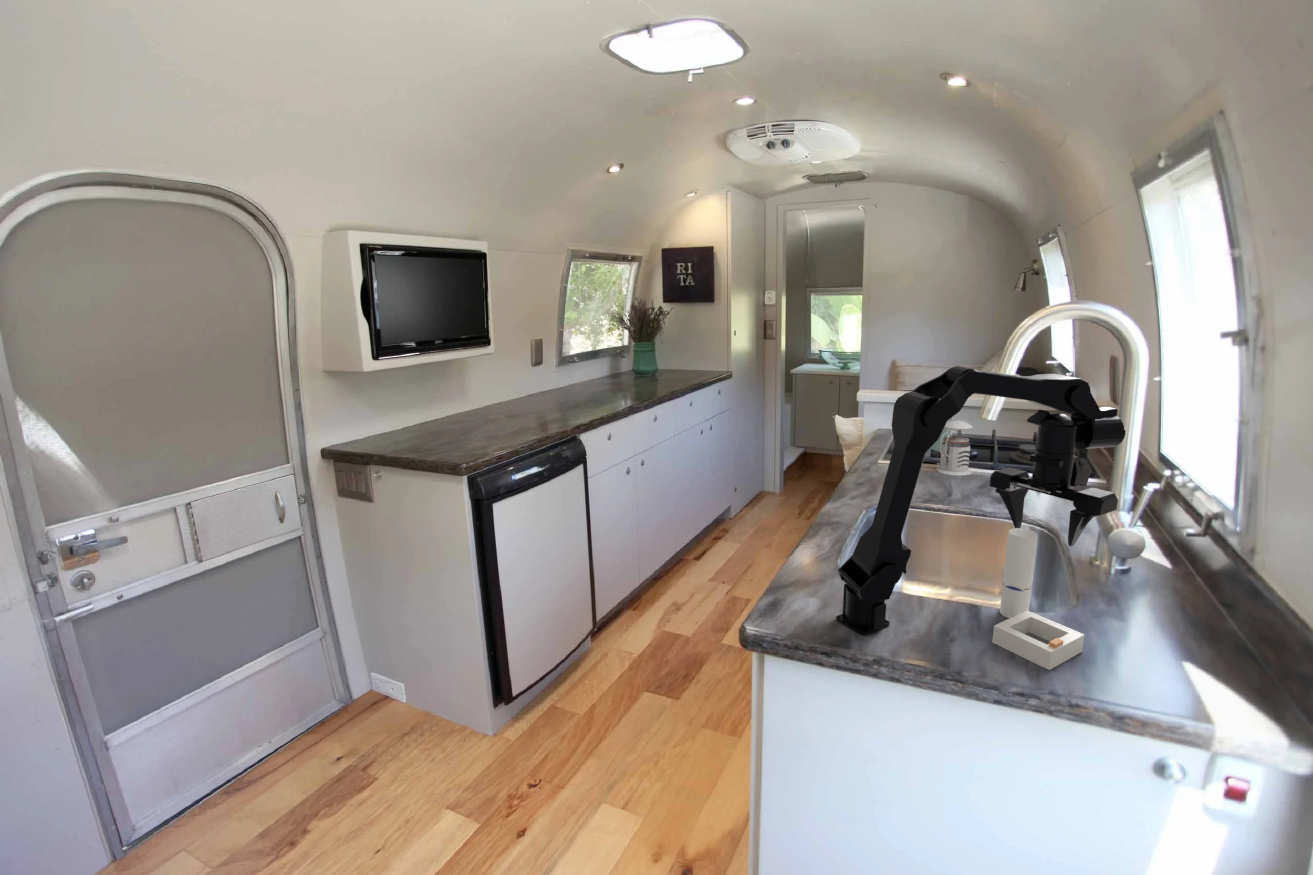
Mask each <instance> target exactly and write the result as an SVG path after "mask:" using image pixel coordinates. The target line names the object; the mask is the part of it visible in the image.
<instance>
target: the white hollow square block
mask: <svg viewBox="0 0 1313 875" xmlns="http://www.w3.org/2000/svg"><path fill="white" fill-rule="evenodd" d="M1084 641H1085V634H1084V633H1082V632H1079V631H1077V630H1075V629H1072V628H1070V627H1067V626H1065V625H1063V624H1060V623H1058V622H1056V621H1053V620H1052V619H1048V618H1046V617H1044V616H1041V615H1039V614H1037V613H1034V612H1032V611H1030V610H1029V611H1028V610H1027V611H1025V612H1022V613H1020V614H1018V615H1016V616H1014V617H1012V618H1007V619H1005V620H1002V621H1001V622H999V623H997V624H994V625H993V632H992V642H991V643H992V644H995V645H996V646H999V647H1000V648H1002V649H1004V650H1006V651H1009V652H1011V653H1013V654H1015V655H1017V656H1019V657H1021V658H1023V659H1024V660H1028V661H1029V662H1032V663H1033V664H1036V665H1038V666H1040V667H1042V668H1044V669H1046V670H1047V671H1051V670H1052V669H1054V668H1056V667H1057V666H1060V665H1062V664H1063V663H1065V662H1066V661H1068V660H1070V659H1072V658H1074V657H1075V656H1077V655H1080V653H1083V649H1084V648H1083V647H1084Z"/></svg>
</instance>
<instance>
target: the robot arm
mask: <svg viewBox="0 0 1313 875" xmlns="http://www.w3.org/2000/svg"><path fill="white" fill-rule="evenodd" d="M974 394H977V395H985V396H992V397H999V398H1008V399H1016V400H1022V401H1027V402H1028V403H1032V404H1035V405H1038V406H1041V407H1044V408H1048V409H1052V410H1054V411H1057V412H1060V413H1050V411H1048V410H1044V409H1037V411H1036V412H1035V413H1034V414H1032V415H1031V416H1029V417H1028V418H1026V422H1027V424H1032V425H1036V426H1038V428H1037V434H1036V443H1035V449H1034V450H1035V451H1034V454H1030V457H1029V462H1033V467H1032V473H1031V474H1032V475H1031V477H1030V474H1029V472H1028V471H1026V470H1022V469H1017V468H1015V467H1014V468H1013V467H1010V466H1009V467H1005V468H1001V469H998V470H994V471H993V472H992V473H991V474H990V475H989V480H988V481H989V482H988V486H989V487H991V488H994V489H995V493H996V494H998V495H999V496H1000V498H1001V499H1002V501H1003V504H1004V505H1005V507H1006V509H1007V511H1008V514H1009V516H1010V520H1011V521H1012V525H1013V526H1014V528H1022V523H1023V519H1024V518H1023V517H1024V506H1025V498H1026V496H1027V494H1028V492H1029V491H1033V492H1038V493H1040V494H1045V495H1048V496H1052V497H1055V498H1060V499H1063V500H1066V501H1071V502H1073V503H1072V505H1073V507H1074V509H1072V510H1070V511H1069V512H1070V513H1069V523H1068V524H1069V525H1068V533H1067V534H1068V535H1067V542H1068V543H1067V544H1068V546H1069V547H1073V546H1075V544H1076V543H1077V541H1078V540H1079V538H1080V536H1081V535H1082V533H1083V532H1084V530H1085V528H1086V527H1087V526H1088V524H1089V523H1090V521H1091V520H1092V519H1093V518H1095V517H1098V516H1100V517H1101V516H1103V515H1105V514H1108V513H1112V512H1113V511H1116V510H1117V509H1118V504H1119V499H1118V497H1117V494H1115V492H1111V491H1108V490H1103V489H1101V488H1096V487H1089V488H1086V487H1087V485H1088V483H1089V478H1090V475H1091V473H1092V469H1090V468H1088V467H1085V466H1083V465H1080V464H1079V462H1080V458H1079V456H1078V455H1076V449H1077V448H1078V449H1082V450H1083V449H1098V448H1099V449H1102V448H1114V447H1115V448H1116V447H1118V446H1119V445H1121V444H1122V443H1123V441H1124V439H1125V436H1126V429H1125V425H1124V423H1123V421H1122V419H1121V417H1119V416H1118V411H1119V409H1117V408H1115V407H1110V406H1102V407H1099V405H1098V404H1097V402H1096V400H1095V398H1094V396H1093V394H1092V392H1091V386H1090V384H1089V381H1088V380H1087V379H1083V378H1079V377H1075V376H1074V377H1073V376H1068V375H1063V374H1058V373H1042V374H1040V373H1039V374H1034V375H1030V376H1029V375H1027V376H1024V375H1023V376H1022V375H1015V374H1010V373H1009V374H1007V373H1001V372H994V371H987V370H980V369H976V368H972V367H966V366H961V365H955V366H952V367H950V368H948V369H946V371H944V372H943V373H942V374H940V375H938V376H936V377H934V378H932V379H930V380H927V381H925V382H924V383H922V384H920V385H918V386H917V387H916V388H914V389H913V390H911V391H908V392H905V393H904V394H902V395H901V396H898V397H897V399H896V400H895V402H894V404H893V410H892V419H891V430H892V436H893V442H894V445H893V450H892V453H891V456H890V460H889V463H888V467H887V471H886V475H885V478H884V481H883V485H882V488H881V493H880V495H879V500H878V502H877V505H876V506H877V507H876V509H875V513H874V517H873V521H872V523H871V526H870V527H869V528H868V529H867V530H866V531H865V532H864V533H863V534H862V535H861V536H860V538H859V540H858V542H857V544H856V546H855V549H854V551H853V552H852V554H851V556H850V557H849V558H848V559H847V560H846V561H845V562H844V563H843V564H842V565H841V566H840V567H839V568H838V569H837V572H838V575H839V578H840V580H841V581H842V582H844V584H843V596H842V597H843V598H842V613H841V614H838V615H836V616H835V620H836V621H838V622H840V623H842V625H843V624H844V625H845V626H847V627H849V628H850V629H852V630H853V631H855V632H857V633H858V634H860V635H862V636H864V635H865V636H866V635H869V634H871V633H873V632H877V631H879V630H881V629H883V628H885V627H888V626H890V624H891V623H890V622H891V621H890V620H887V619H886V616H887V615H886V614H887V604H886V603H885V602H886V601H887V600H890V598H891V595H892V593H893V592H894V589H895V586H896V584H899V582H900V580H901V578H902V575H903V574H905V575H906V574H907V564H908V562H909V560H910V557H911V554H912V550H911V549H910V547H908V546H906V545H905V544H904V543H903V537H902V536H903V531H904V529H905V528H904V527H905V524H906V521H907V519H908V514H909V511H910V508H911V503H912V501H913V497H914V494H915V489H916V486H917V484H918V480H919V476H920V473H921V470H922V467H923V462H924V459H925V456H926V454H927V452H928V451H929V450H931V449H930V448H931V447H932V446H933V445H934V444H935V442H936V441H937V440H938V439H939V438H940V436H941V433H942V431H943V429H944V427H945V425H946V423H947V421H948V420H949V419H950V418H953V417H955V415H958V412H959V413H960V412H961V411H962V409H963V407H964V405H965V404H966V402H967V401H968V399H969V398H970V397H971V396H972V395H974ZM1066 414H1068V415H1066ZM1069 415H1070V416H1069ZM1079 486H1080V487H1084V488H1085V489H1083V490H1077V489H1075V488H1076V487H1079ZM1071 487H1073V488H1074V489H1073V488H1071Z"/></svg>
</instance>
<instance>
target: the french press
mask: <svg viewBox="0 0 1313 875" xmlns="http://www.w3.org/2000/svg"><path fill="white" fill-rule="evenodd" d="M959 416H960V411H959V412H958V413H957V419H956V420H951V421H949V422H947V423H946V425H945V427H944V428H946V429H950V430H953V431H968V430H970V431H971V429H973V425H972V424H970V423H969V422H967V421H963V420H959V418H960V417H959ZM945 434H946V436H947V432H945ZM945 434H944V435H945ZM944 435H943V436H944ZM942 439H943V440H944V441H946V442H942ZM942 439H941V442H942V446H941V442H940V452H939V453H940V459H939V460H940V461H939V466H937V467H936V468H935V470H936V471H937V472H938V473H941V474H944V475H950V476H968V475H971V474H972V470H971V469H970V468H969V465H970V462H968V461H970V458H969V457H970V452H971V444H970V439H969V438H967V437H963V436H958V432H956V434H955V436H953V433H951V432H950V435H949V436H947V437H944V438H943V437H942ZM941 448H942V449H941ZM947 448H948V450H947ZM941 450H942V451H941Z"/></svg>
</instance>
